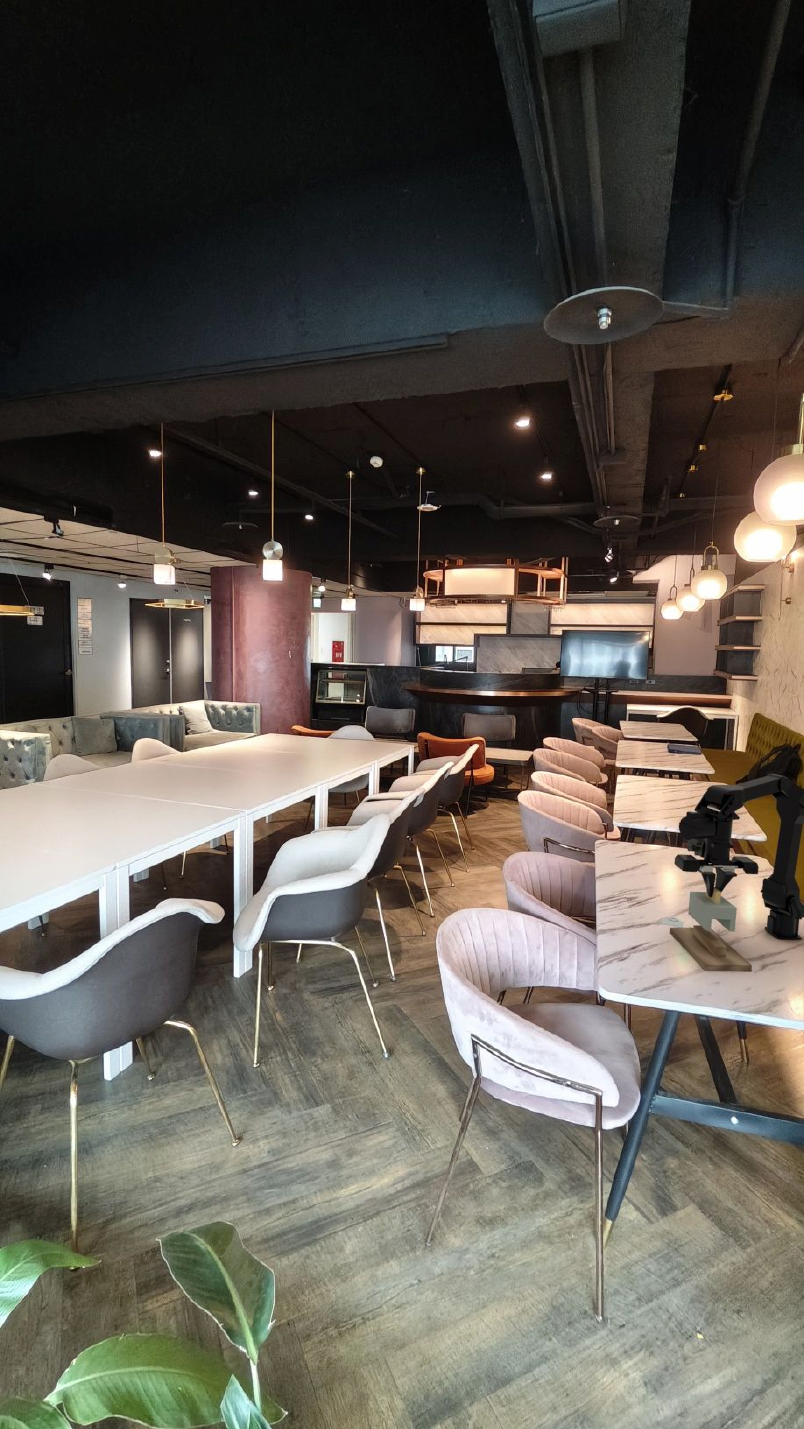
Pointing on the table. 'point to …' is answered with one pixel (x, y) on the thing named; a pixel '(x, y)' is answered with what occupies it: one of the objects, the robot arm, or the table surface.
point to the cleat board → (707, 956)
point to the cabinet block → (712, 910)
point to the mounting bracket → (672, 922)
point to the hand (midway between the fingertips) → (713, 897)
